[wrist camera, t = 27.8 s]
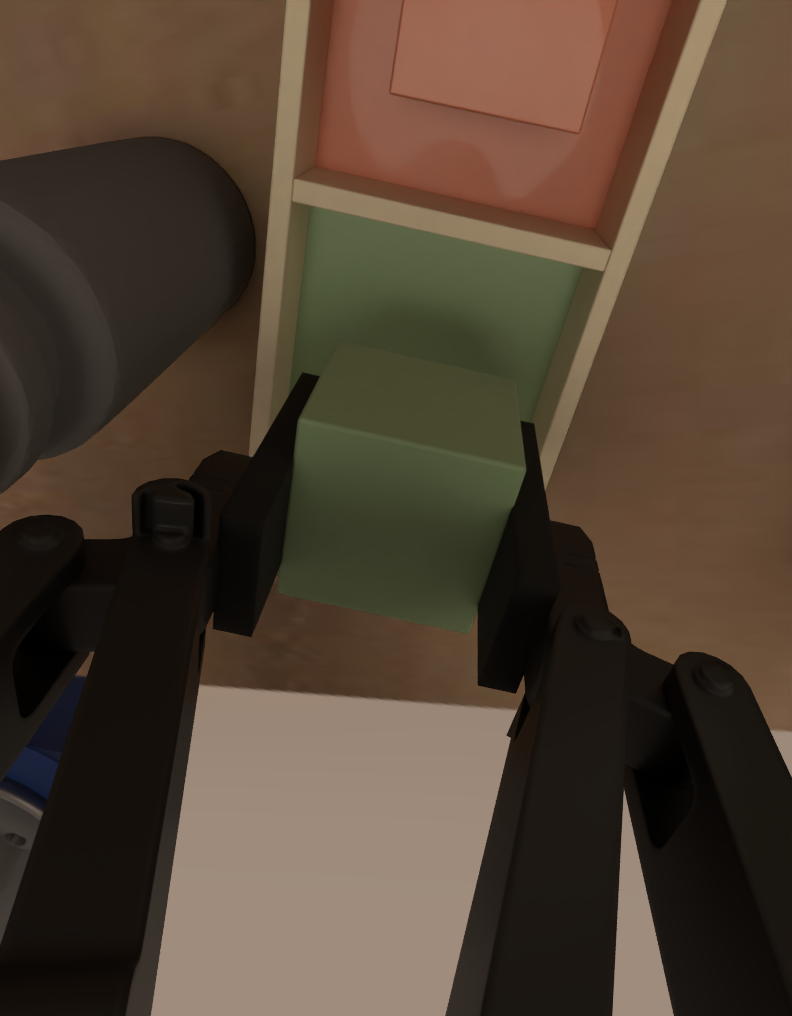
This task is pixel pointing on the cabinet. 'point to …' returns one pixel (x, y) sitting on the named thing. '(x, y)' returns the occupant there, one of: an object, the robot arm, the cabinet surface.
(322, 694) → the cabinet surface
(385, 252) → the sorting tray
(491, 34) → the terracotta block
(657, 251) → the cabinet surface
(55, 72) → the cabinet surface
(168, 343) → the bottle
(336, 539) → the sage block
